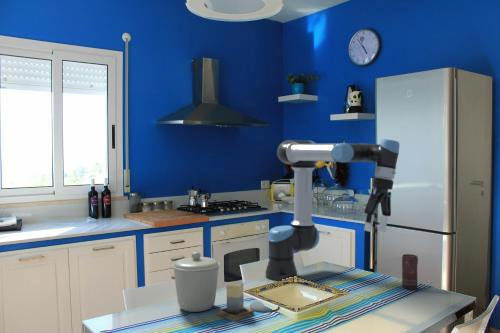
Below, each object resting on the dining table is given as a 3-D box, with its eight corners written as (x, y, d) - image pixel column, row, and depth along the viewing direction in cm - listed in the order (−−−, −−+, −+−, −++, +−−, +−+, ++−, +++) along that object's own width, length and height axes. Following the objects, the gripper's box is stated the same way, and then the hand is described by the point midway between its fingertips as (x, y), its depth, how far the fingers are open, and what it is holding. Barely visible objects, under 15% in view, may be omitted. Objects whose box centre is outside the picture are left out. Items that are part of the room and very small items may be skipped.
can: (420, 290, 185) (420, 256, 185) (405, 290, 185) (404, 256, 185) (415, 285, 191) (414, 253, 191) (400, 285, 191) (400, 253, 191)
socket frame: (216, 314, 157) (216, 310, 157) (236, 308, 164) (236, 304, 164) (234, 321, 151) (234, 317, 151) (253, 314, 157) (253, 310, 157)
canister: (213, 317, 155) (212, 258, 154) (164, 314, 158) (164, 256, 158) (226, 301, 172) (225, 247, 172) (182, 298, 176) (181, 246, 176)
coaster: (243, 307, 165) (243, 305, 165) (263, 300, 173) (263, 299, 173) (264, 314, 157) (264, 312, 157) (285, 307, 165) (285, 305, 165)
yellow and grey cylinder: (226, 316, 156) (226, 285, 156) (231, 311, 160) (231, 281, 160) (238, 317, 154) (238, 286, 154) (243, 313, 159) (243, 283, 158)
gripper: (380, 176, 163) (370, 233, 163) (404, 182, 182) (395, 233, 182) (361, 173, 168) (352, 228, 167) (387, 180, 187) (378, 229, 186)
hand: (374, 231), depth 175 cm, fingers open, 13 cm apart
